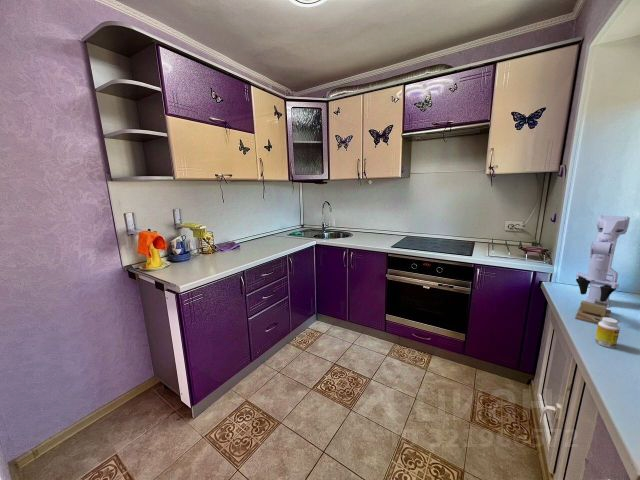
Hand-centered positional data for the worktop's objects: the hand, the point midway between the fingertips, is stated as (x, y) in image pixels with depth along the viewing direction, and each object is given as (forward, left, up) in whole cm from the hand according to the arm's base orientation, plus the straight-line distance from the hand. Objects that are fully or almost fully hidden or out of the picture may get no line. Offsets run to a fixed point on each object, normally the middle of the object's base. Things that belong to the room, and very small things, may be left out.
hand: (592, 297), depth 117 cm
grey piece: (-4, +2, -9) cm, 10 cm away
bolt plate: (-4, +1, -10) cm, 11 cm away
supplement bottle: (+22, +6, -10) cm, 25 cm away
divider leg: (-3, +1, -9) cm, 9 cm away
